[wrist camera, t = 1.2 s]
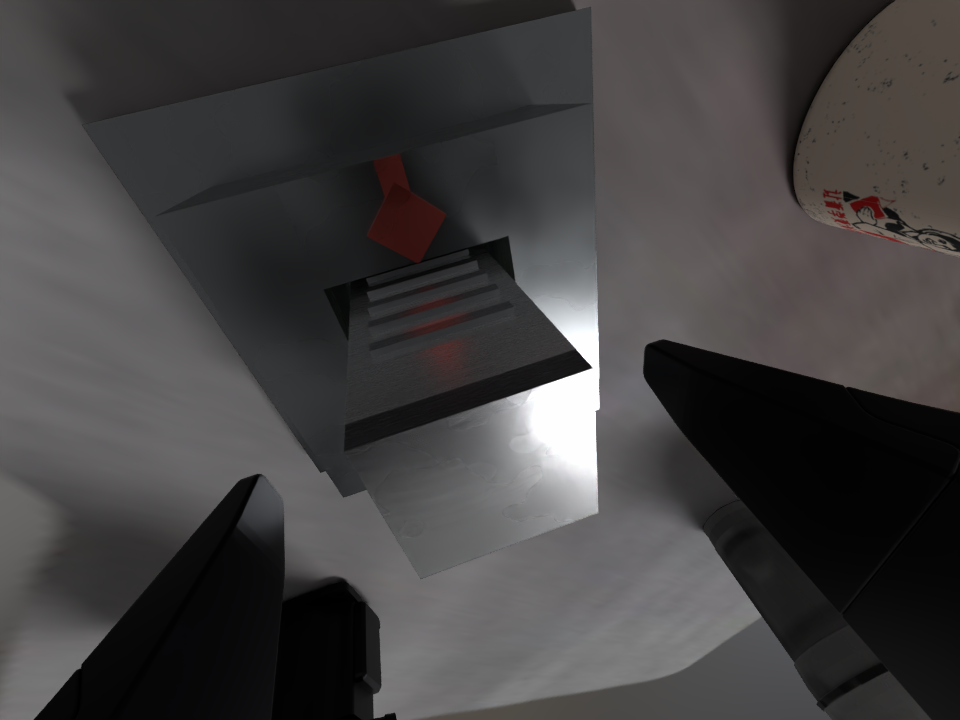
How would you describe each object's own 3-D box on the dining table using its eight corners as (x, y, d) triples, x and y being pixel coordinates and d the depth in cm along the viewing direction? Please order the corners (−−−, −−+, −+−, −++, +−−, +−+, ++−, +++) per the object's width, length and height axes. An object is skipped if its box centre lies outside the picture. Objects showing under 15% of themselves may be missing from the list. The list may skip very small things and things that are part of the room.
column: (389, 357, 15) (417, 582, 8) (346, 255, 13) (332, 446, 6) (489, 326, 16) (602, 513, 8) (466, 221, 13) (599, 358, 6)
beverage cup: (691, 511, 31) (1060, 956, 15) (772, 476, 31) (1218, 872, 15) (686, 554, 35) (969, 938, 19) (758, 523, 36) (1094, 872, 19)
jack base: (321, 459, 18) (312, 551, 15) (98, 123, 10) (-52, 131, 7) (591, 369, 20) (646, 431, 16) (578, 12, 12) (682, -34, 8)
